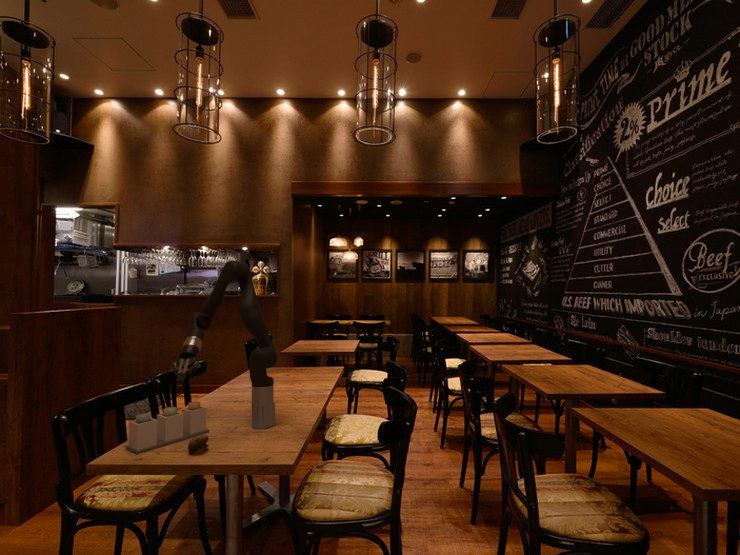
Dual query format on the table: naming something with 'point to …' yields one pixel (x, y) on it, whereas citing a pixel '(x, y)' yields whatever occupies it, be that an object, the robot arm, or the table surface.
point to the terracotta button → (194, 405)
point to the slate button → (142, 418)
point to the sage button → (170, 411)
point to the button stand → (166, 430)
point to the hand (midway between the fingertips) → (179, 382)
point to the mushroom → (198, 444)
